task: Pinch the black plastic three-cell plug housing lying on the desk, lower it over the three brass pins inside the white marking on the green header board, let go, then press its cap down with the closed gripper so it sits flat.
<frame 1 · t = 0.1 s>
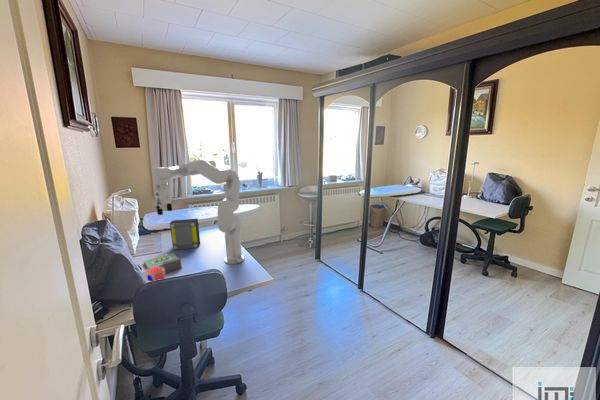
hand: (165, 212, 171), 31 cm above the table, tool pointing down, fingers open, 9 cm apart
plug housing: (172, 269, 160), on the table
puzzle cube: (155, 282, 146), on the table
electrical component: (186, 247, 195), on the table
header board: (162, 262, 170), on the table
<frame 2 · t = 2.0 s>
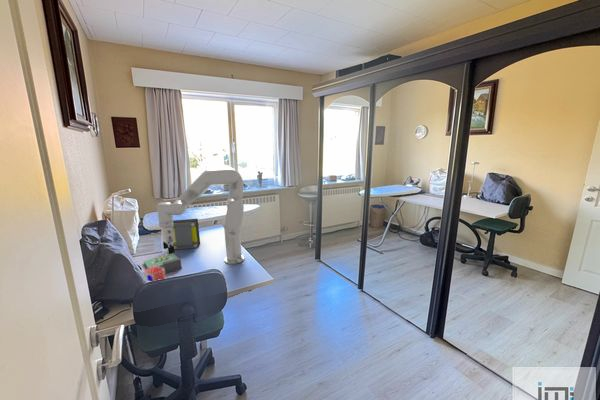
hand: (169, 250, 157), 12 cm above the table, tool pointing down, fingers open, 9 cm apart
nothing on the table moved.
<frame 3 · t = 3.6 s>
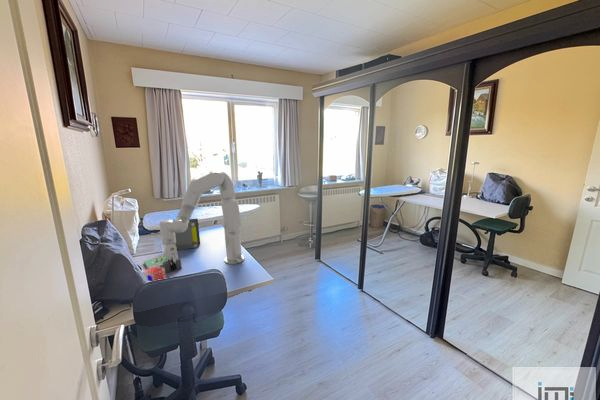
hand: (172, 268, 160), 1 cm above the table, tool pointing down, fingers closed on plug housing, 3 cm apart
plug housing: (172, 269, 160), on the table, touching gripper
everything else where it was.
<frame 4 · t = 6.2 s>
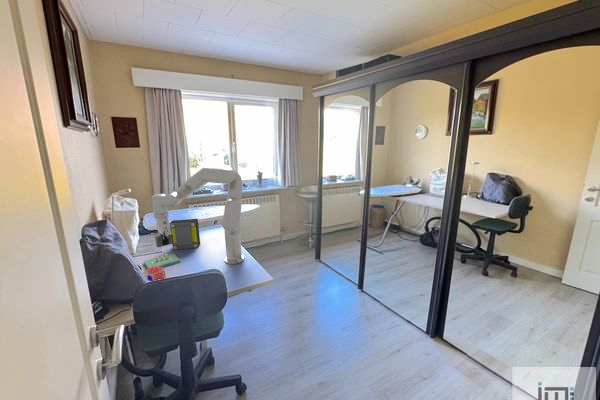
hand: (164, 243, 160), 16 cm above the table, tool pointing down, fingers closed on plug housing, 3 cm apart
plug housing: (165, 244, 160), point 15 cm above the table, touching gripper
everything else where it was.
when the fingers open (3 cm above the table, at t = 8.9 s): plug housing stays where it is, resting on header board.
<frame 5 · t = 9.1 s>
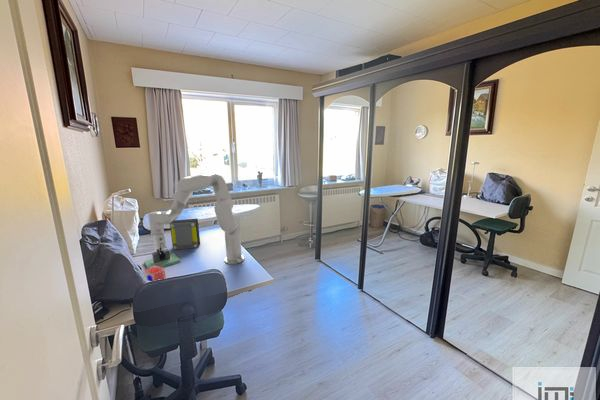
hand: (161, 257, 169), 4 cm above the table, tool pointing down, fingers open, 5 cm apart
plug housing: (161, 260, 170), point 2 cm above the table, touching header board
everything else where it was.
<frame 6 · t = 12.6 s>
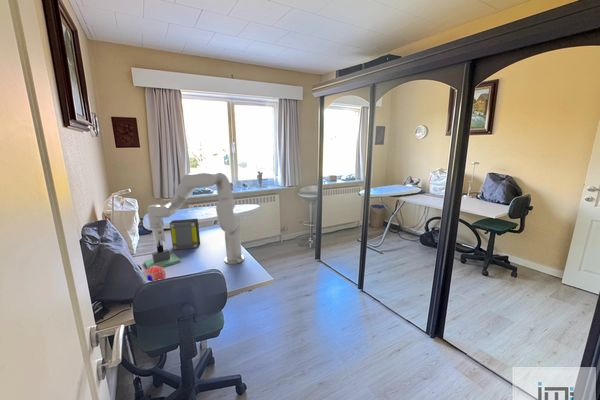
hand: (160, 251, 168), 8 cm above the table, tool pointing down, fingers closed
plug housing: (161, 260, 170), point 2 cm above the table, touching gripper, header board
everything else where it was.
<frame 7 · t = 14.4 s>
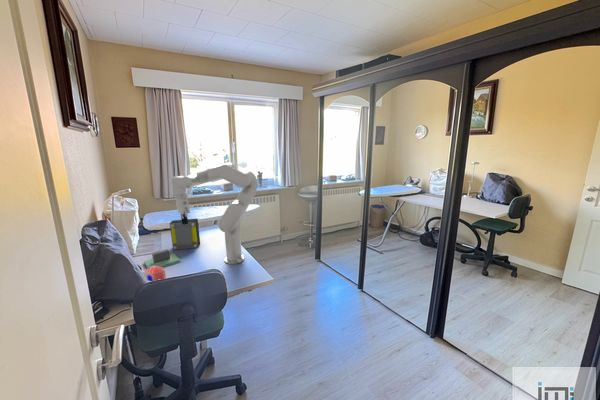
hand: (185, 223, 168), 25 cm above the table, tool pointing down, fingers closed
plug housing: (161, 260, 170), point 2 cm above the table, touching header board
everything else where it was.
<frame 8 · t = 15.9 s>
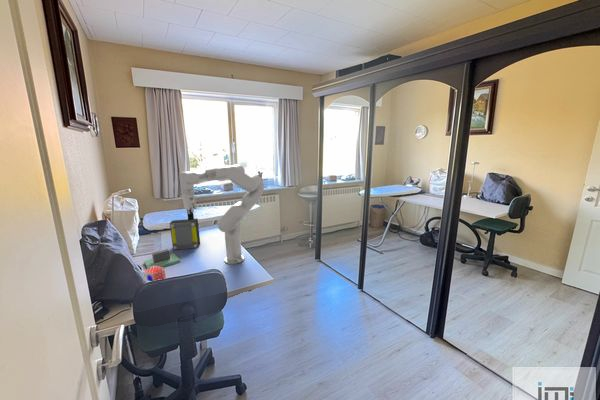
hand: (191, 219, 169), 27 cm above the table, tool pointing down, fingers closed
nothing on the table moved.
at the end: plug housing 0.0 cm off-centre on the header board, point 1.6 cm above the header board's base; plug housing tilted 0°; the gripper is holding nothing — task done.
